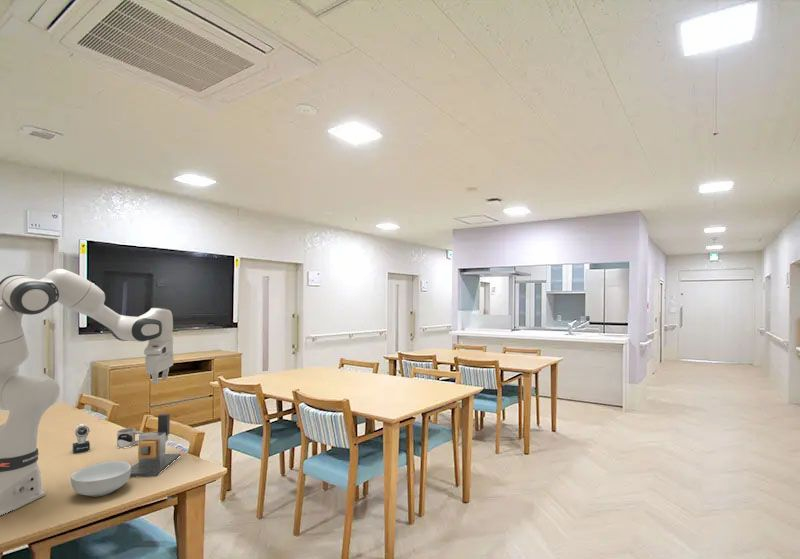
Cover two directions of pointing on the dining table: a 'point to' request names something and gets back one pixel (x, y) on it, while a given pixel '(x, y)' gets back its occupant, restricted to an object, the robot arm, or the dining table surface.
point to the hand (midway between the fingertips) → (160, 381)
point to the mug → (127, 437)
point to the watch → (81, 439)
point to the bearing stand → (153, 464)
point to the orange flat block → (152, 451)
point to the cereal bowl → (100, 478)
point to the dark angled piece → (159, 430)
